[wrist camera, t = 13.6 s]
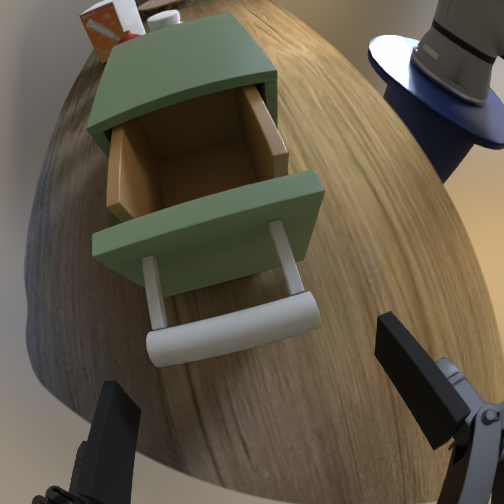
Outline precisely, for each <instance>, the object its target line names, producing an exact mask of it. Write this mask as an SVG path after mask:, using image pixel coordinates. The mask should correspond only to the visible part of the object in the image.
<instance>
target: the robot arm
mask: <svg viewBox="0 0 504 504" xmlns="http://www.w3.org/2000/svg"><path fill="white" fill-rule="evenodd" d="M497 56H500V57H501V58H502V59H504V0H439V1H438V5H437V8H436V12H435V15H434V19H433V22H432V26H431V28H430V30H429V31H428V32H427V33H426V34H425V35H424V37H423V38H422V39H421V40H420V42H419V43H418V44H417V45H416V46H415V47H414V48H413V50H412V53H411V56H410V60H411V63H412V64H413V66H414V67H415V68H416V69H417V70H418V71H419V72H420V73H421V74H422V75H423V76H424V77H425V78H426V79H427V80H429V81H430V82H431V83H432V84H434V85H435V86H436V87H438V88H439V89H441V90H442V91H444V92H445V93H447V94H448V95H450V96H452V97H453V98H455V99H457V100H459V101H461V102H463V103H465V104H467V105H470V106H473V107H483V106H484V104H485V102H486V101H487V99H488V94H489V88H490V80H491V79H490V78H491V70H492V66H493V64H494V62H495V60H496V58H497ZM374 355H375V356H376V358H377V359H378V361H379V362H380V364H381V365H382V367H383V369H384V370H385V372H386V373H387V375H388V376H389V378H390V379H391V381H392V383H393V384H394V386H395V387H396V389H397V390H398V392H399V394H400V395H401V397H402V398H403V400H404V402H405V403H406V405H407V406H408V408H409V410H410V411H411V413H412V415H413V416H414V418H415V420H416V421H417V423H418V425H419V426H420V428H421V430H422V431H423V433H424V435H425V436H426V438H427V440H428V442H429V443H430V445H431V447H432V449H433V450H436V449H438V448H439V447H441V446H442V445H444V444H445V443H447V442H448V441H449V440H450V439H451V437H452V436H453V438H454V439H455V440H454V441H453V442H452V444H451V445H450V446H449V448H448V450H451V448H452V447H453V449H452V454H451V458H450V462H449V466H448V470H447V473H446V477H445V480H444V484H443V487H442V490H441V493H440V496H439V499H438V502H437V504H488V502H489V498H490V495H491V491H492V496H491V504H504V402H501V403H499V404H492V403H487V402H485V401H484V400H483V399H482V398H481V396H480V395H479V394H478V392H477V391H476V390H475V389H474V387H473V386H472V385H471V384H470V382H469V381H468V380H467V379H466V378H465V376H464V375H463V374H462V373H461V372H460V370H459V369H458V368H457V367H456V365H455V364H454V363H453V362H451V361H450V360H448V359H446V358H444V357H443V358H441V359H440V360H438V361H436V362H434V361H433V360H432V359H431V357H430V356H429V355H428V354H427V353H426V351H425V350H424V349H423V348H422V347H421V345H420V344H419V343H418V342H417V341H416V339H415V338H414V337H413V336H412V335H411V334H410V332H409V331H408V330H407V329H406V328H405V327H404V325H403V324H402V323H401V322H400V321H399V320H398V319H397V317H396V316H395V315H394V314H393V313H392V312H391V311H390V312H387V313H385V314H382V315H380V316H378V317H377V332H376V343H375V353H374ZM140 416H141V409H140V408H139V407H138V406H137V405H136V404H135V403H134V402H133V400H132V399H131V398H130V397H129V396H128V395H127V393H126V392H125V391H124V390H123V389H122V387H121V386H120V385H119V384H118V383H117V381H116V380H115V381H104V384H103V387H102V390H101V394H100V397H99V400H98V404H97V407H96V410H95V414H94V417H93V421H92V425H91V429H90V433H89V436H88V440H87V441H83V442H82V443H81V445H80V446H79V448H78V451H77V455H76V460H75V466H74V468H73V473H72V478H71V483H70V488H69V492H67V491H65V490H63V489H62V488H60V487H58V486H51V487H49V489H47V491H46V495H45V496H46V497H43V496H41V495H37V496H35V497H34V498H33V501H32V504H131V503H130V502H131V489H132V478H133V468H134V459H135V451H136V443H137V436H138V429H139V423H140Z"/></svg>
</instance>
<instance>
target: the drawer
mask: <svg viewBox="0 0 504 504" xmlns="http://www.w3.org/2000/svg"><path fill="white" fill-rule="evenodd" d="M288 158H289V152H288V150H287V148H286V146H285V144H284V142H283V140H282V138H281V136H280V134H279V132H278V130H277V127H276V125H275V123H274V121H273V119H272V117H271V116H270V114H269V112H268V110H267V108H266V106H265V104H264V102H263V100H262V98H261V96H260V94H259V92H258V91H257V89H256V87H255V85H254V84H252V85H247V86H242V87H237V88H232V89H228V90H223V91H219V92H215V93H211V94H207V95H204V96H200V97H196V98H193V99H189V100H186V101H183V102H179V103H176V104H173V105H170V106H167V107H164V108H161V109H158V110H155V111H152V112H150V113H147V114H144V115H141V116H139V117H136V118H134V119H131V120H129V121H126V122H124V123H121V124H119V125H117V126H114V127H113V129H112V136H111V144H110V154H109V165H108V178H107V198H106V208H107V209H108V210H109V211H110V212H111V213H112V214H113V215H114V216H115V217H116V218H117V219H119V220H120V221H121V222H122V223H121V224H119V225H116V226H113V227H110V228H107V229H105V230H102V231H99V232H97V233H94V234H92V257H93V258H94V259H96V260H97V261H99V262H101V263H102V264H104V265H105V266H107V267H109V268H110V269H112V270H114V271H115V272H117V273H119V274H121V275H122V276H124V277H126V278H127V279H129V280H131V281H133V282H134V283H136V284H138V285H140V286H142V287H143V288H145V289H146V295H147V301H148V308H149V314H150V320H151V325H152V330H155V331H152V332H149V333H148V335H147V338H146V347H147V352H148V355H149V358H150V360H151V361H152V363H153V364H154V365H155V366H156V367H165V366H170V365H176V364H181V363H187V362H192V361H197V360H202V359H207V358H211V357H216V356H220V355H225V354H229V353H233V352H237V351H241V350H245V349H249V348H253V347H257V346H261V345H265V344H268V343H272V342H276V341H279V340H283V339H286V338H289V337H293V336H296V335H299V334H303V333H306V332H309V331H312V330H315V329H318V328H320V326H321V320H320V314H319V310H318V307H317V304H316V301H315V299H314V297H313V295H312V293H311V292H309V291H308V292H304V287H303V284H302V281H301V278H300V275H299V271H298V268H297V265H296V262H299V261H302V260H304V257H305V254H306V251H307V248H308V245H309V242H310V238H311V235H312V232H313V229H314V226H315V222H316V219H317V216H318V212H319V209H320V206H321V202H322V199H323V196H324V192H325V190H324V188H323V186H322V184H321V182H320V180H319V178H318V175H317V173H316V171H315V170H310V171H305V172H300V173H296V174H291V175H287V174H288ZM278 267H281V270H282V273H283V276H284V279H285V282H286V286H287V289H288V292H289V295H290V297H287V298H284V299H280V300H277V301H273V302H270V303H266V304H263V305H259V306H255V307H252V308H248V309H244V310H240V311H237V312H233V313H229V314H225V315H221V316H217V317H213V318H209V319H205V320H201V321H196V322H192V323H188V324H184V325H179V326H175V327H170V328H168V323H167V318H166V312H165V307H164V301H163V298H165V297H169V296H173V295H177V294H181V293H184V292H188V291H192V290H196V289H200V288H204V287H208V286H211V285H215V284H219V283H223V282H226V281H230V280H234V279H238V278H241V277H245V276H249V275H252V274H256V273H260V272H263V271H267V270H270V269H274V268H278Z"/></svg>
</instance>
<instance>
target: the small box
mask: <svg viewBox="0 0 504 504" xmlns="http://www.w3.org/2000/svg"><path fill="white" fill-rule="evenodd" d="M79 16H80V18H81V21H82V23H83V25H84V27H85V30H86V32H87V34H88V36H89V38H90V40H91V43H92V45H93V47H94V49H95V51H96V53H97V55H98V57H99V59H100V62H101V63H105V62H107V61H108V58H109V55H110V53H111V51H112V48H113V47H114V46H116V45H117V44H118V42H119V40H120V39H121V38H122V36H123V34H124V32H125V31H126V30H130V32H131V33H133V34H139V35H144V34H146V33H145V30H144V27H143V24H142V21H141V18H140V16H139V13H138V10H137V7H136V4H135V1H134V0H105V1H102V2H100V3H97V4H95V5H94V6H92V7H91V8H89V9H88V10H86V11H85V12H83V13H82V14H80V15H79Z"/></svg>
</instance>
